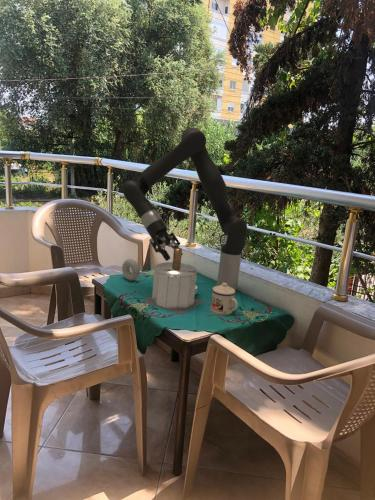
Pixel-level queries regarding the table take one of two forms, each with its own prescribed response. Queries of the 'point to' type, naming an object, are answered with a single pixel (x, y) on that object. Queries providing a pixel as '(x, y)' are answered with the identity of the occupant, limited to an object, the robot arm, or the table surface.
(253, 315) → the table surface
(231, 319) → the table surface
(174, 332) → the table surface
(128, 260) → the donut
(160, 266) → the cylinder
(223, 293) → the teacup with lid
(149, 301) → the mat
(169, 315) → the table surface
